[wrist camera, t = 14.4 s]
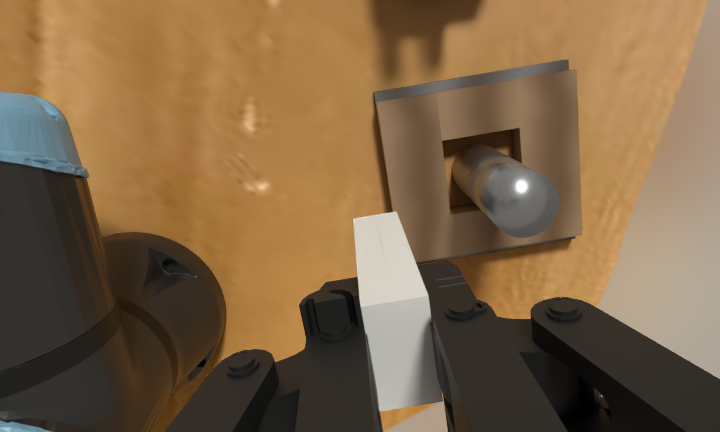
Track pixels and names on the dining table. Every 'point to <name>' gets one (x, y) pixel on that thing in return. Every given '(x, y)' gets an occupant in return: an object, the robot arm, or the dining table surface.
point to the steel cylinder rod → (506, 190)
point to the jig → (468, 118)
